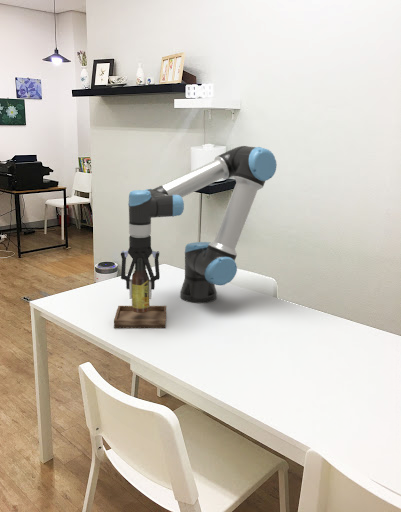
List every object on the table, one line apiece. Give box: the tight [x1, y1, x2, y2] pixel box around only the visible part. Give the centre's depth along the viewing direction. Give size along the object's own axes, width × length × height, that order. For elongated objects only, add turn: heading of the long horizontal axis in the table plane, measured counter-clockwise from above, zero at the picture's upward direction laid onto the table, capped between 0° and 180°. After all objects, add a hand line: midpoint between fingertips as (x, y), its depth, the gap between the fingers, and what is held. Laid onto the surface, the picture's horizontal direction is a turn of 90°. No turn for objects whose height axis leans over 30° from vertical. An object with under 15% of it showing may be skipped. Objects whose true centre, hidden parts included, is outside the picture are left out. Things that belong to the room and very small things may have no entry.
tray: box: [113, 305, 167, 329], centre depth 178 cm, size 18×14×3 cm
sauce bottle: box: [131, 259, 150, 313], centre depth 175 cm, size 7×6×20 cm
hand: (140, 297), depth 176 cm, fingers closed on sauce bottle, 6 cm apart
